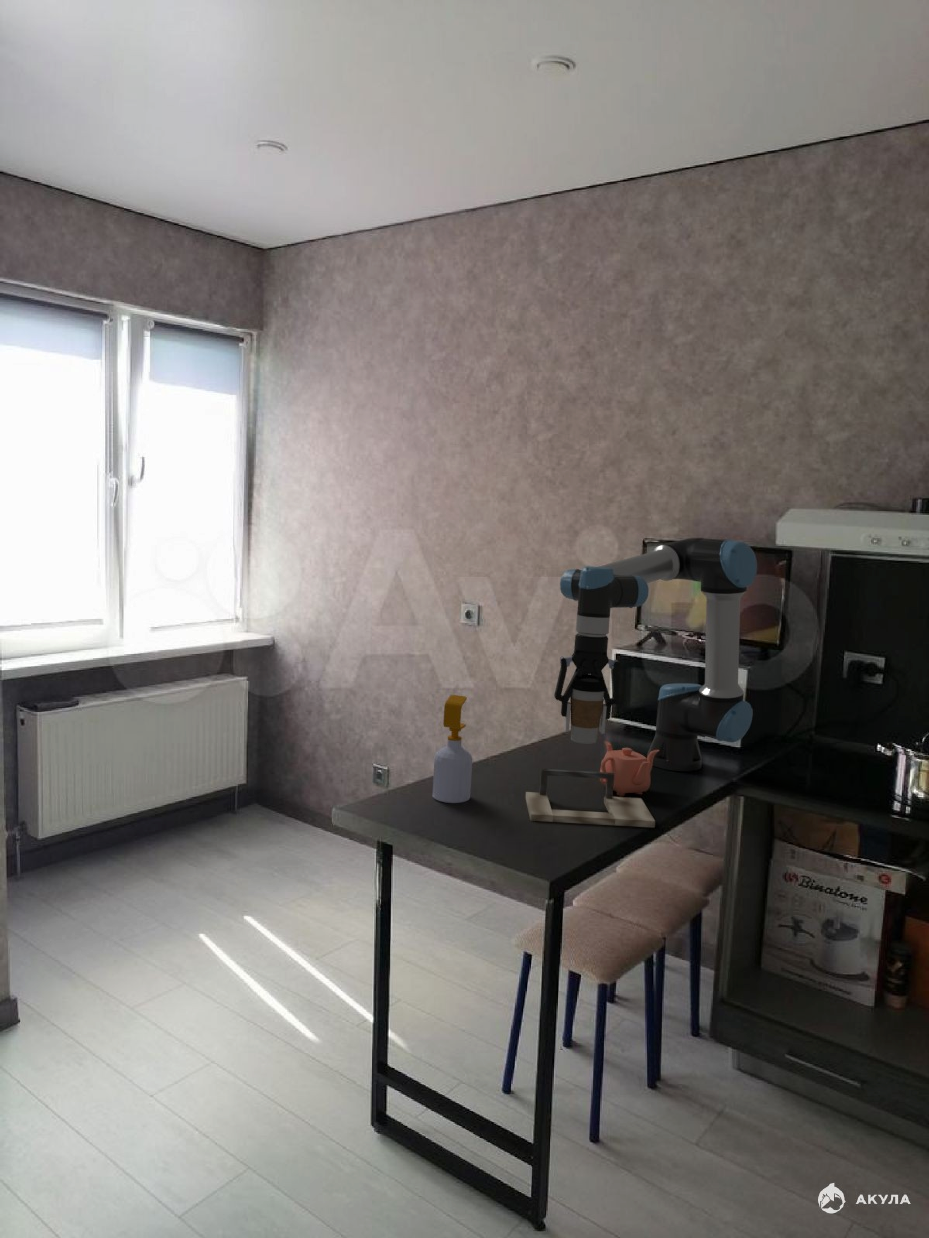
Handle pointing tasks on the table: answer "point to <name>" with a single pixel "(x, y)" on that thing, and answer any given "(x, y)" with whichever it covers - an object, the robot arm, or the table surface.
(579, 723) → the coffee cup
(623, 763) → the teapot
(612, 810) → the cream rectangular frame
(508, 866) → the table surface
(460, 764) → the spray bottle
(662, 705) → the robot arm
